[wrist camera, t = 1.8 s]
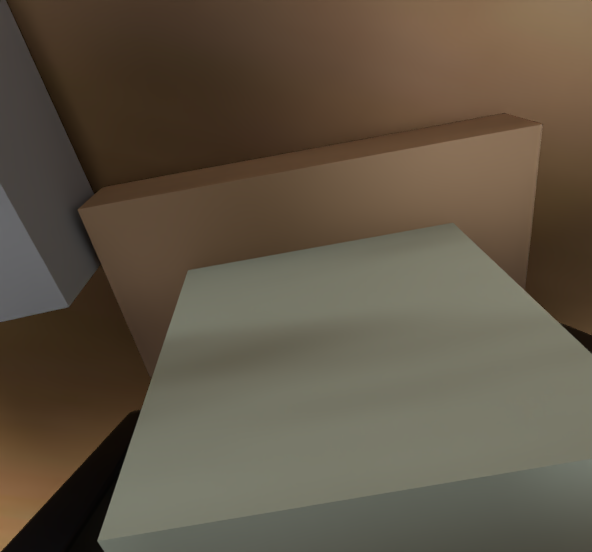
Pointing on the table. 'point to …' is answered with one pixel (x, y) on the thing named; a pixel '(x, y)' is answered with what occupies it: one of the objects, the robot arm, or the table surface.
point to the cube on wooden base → (347, 353)
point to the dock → (37, 191)
